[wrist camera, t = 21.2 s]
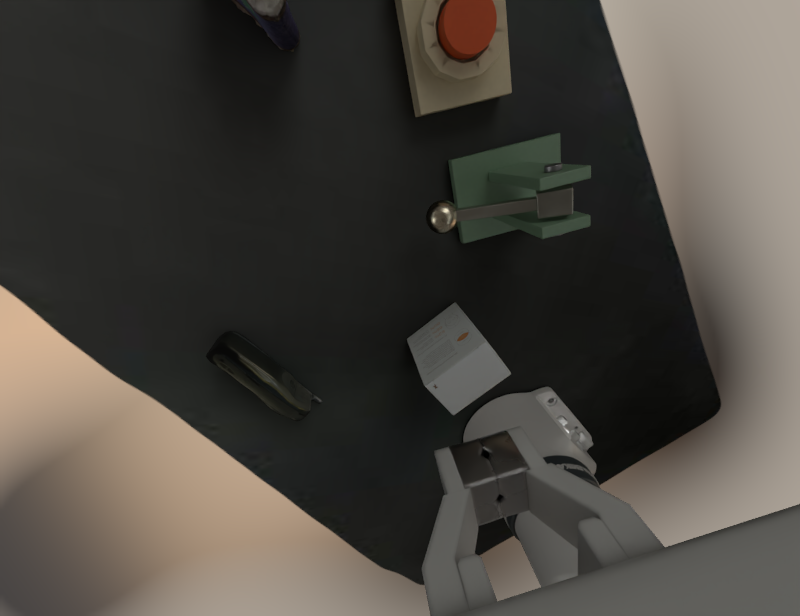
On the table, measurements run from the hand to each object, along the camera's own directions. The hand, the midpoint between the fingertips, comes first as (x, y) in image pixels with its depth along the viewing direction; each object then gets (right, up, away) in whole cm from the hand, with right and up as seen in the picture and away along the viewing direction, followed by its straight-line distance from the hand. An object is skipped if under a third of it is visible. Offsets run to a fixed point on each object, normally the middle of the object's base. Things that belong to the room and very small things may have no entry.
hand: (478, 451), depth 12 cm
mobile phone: (-19, -3, +33) cm, 38 cm away
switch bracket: (+9, +18, +28) cm, 35 cm away
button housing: (+2, +30, +22) cm, 37 cm away
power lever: (+7, +15, +22) cm, 27 cm away
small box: (+3, +1, +34) cm, 35 cm away
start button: (+3, +28, +18) cm, 33 cm away
